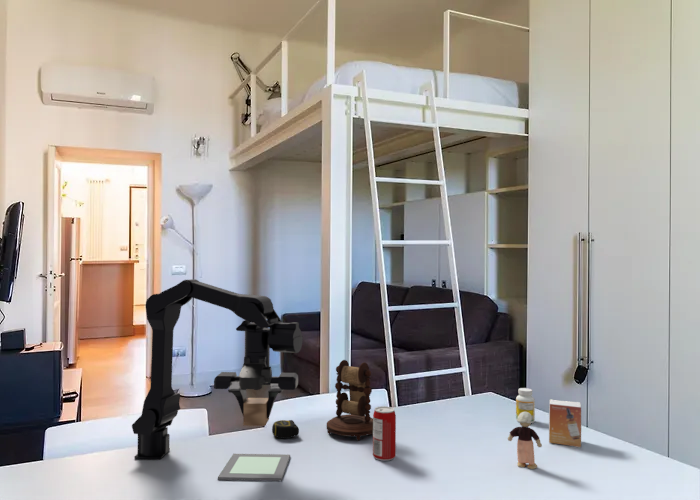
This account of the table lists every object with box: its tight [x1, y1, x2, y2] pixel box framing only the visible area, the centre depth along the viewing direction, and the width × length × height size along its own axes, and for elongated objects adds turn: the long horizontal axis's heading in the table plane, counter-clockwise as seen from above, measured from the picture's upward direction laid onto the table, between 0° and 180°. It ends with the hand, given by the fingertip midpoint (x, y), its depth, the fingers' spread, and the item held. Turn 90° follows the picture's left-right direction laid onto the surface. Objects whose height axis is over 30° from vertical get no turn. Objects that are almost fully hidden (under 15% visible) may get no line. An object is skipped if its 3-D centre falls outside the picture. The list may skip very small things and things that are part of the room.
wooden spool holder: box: [326, 359, 373, 442], centre depth 147 cm, size 15×15×20 cm
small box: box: [548, 399, 582, 448], centre depth 141 cm, size 8×6×10 cm
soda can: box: [372, 406, 397, 462], centre depth 129 cm, size 6×6×12 cm
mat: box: [217, 453, 291, 482], centre depth 122 cm, size 14×14×1 cm
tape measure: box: [271, 419, 300, 439], centre depth 144 cm, size 7×7×4 cm
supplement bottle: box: [515, 387, 536, 424], centre depth 159 cm, size 5×5×10 cm
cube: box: [242, 397, 270, 427], centre depth 122 cm, size 5×5×5 cm
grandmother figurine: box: [507, 412, 543, 470], centre depth 125 cm, size 8×4×13 cm, turn 71°
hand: (256, 417), depth 122 cm, fingers closed on cube, 5 cm apart
